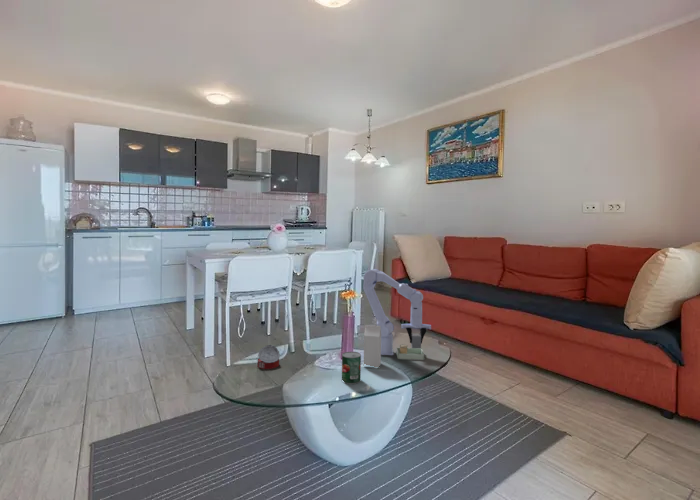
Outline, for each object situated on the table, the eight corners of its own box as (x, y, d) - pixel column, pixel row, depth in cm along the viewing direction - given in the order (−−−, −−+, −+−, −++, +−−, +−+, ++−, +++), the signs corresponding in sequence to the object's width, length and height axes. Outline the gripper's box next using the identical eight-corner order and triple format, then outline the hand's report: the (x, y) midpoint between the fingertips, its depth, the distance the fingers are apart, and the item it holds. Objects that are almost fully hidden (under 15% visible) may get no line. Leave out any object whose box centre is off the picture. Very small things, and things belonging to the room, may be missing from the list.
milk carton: (379, 369, 166) (379, 327, 165) (363, 368, 168) (364, 326, 167) (380, 364, 173) (381, 324, 172) (365, 363, 174) (366, 323, 174)
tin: (411, 348, 181) (411, 335, 181) (410, 345, 186) (410, 333, 186) (421, 348, 181) (421, 335, 181) (419, 345, 186) (420, 333, 186)
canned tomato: (337, 380, 153) (338, 354, 152) (350, 375, 158) (350, 350, 158) (351, 385, 147) (352, 358, 147) (364, 380, 153) (364, 354, 153)
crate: (397, 359, 180) (397, 353, 180) (396, 353, 190) (396, 347, 190) (424, 360, 179) (424, 354, 179) (421, 354, 189) (421, 348, 189)
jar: (400, 357, 183) (400, 346, 182) (399, 354, 186) (399, 344, 186) (407, 357, 182) (407, 346, 182) (406, 354, 186) (407, 344, 186)
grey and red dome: (278, 372, 173) (288, 354, 172) (267, 378, 164) (277, 359, 163) (260, 359, 177) (270, 341, 176) (248, 363, 167) (258, 344, 166)
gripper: (402, 317, 180) (402, 344, 180) (432, 318, 179) (431, 345, 180) (401, 314, 187) (400, 340, 187) (429, 315, 186) (429, 341, 187)
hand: (415, 342), depth 184 cm, fingers closed on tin, 4 cm apart
